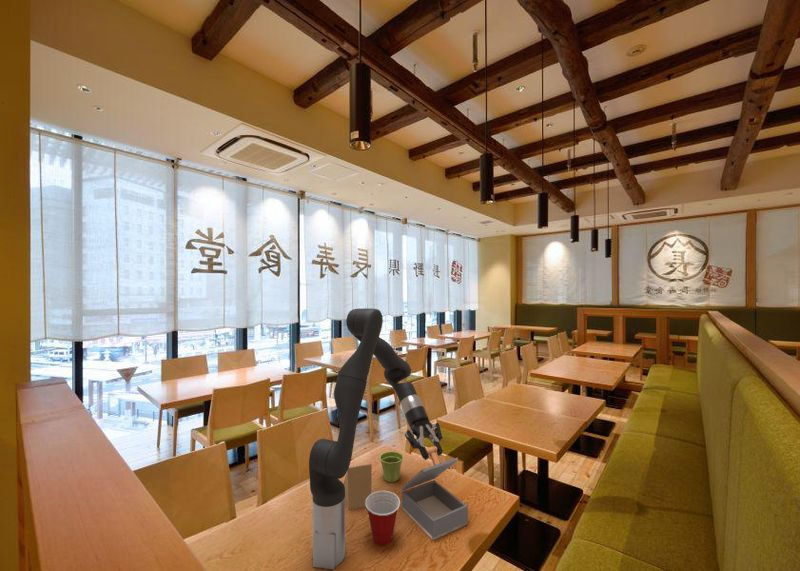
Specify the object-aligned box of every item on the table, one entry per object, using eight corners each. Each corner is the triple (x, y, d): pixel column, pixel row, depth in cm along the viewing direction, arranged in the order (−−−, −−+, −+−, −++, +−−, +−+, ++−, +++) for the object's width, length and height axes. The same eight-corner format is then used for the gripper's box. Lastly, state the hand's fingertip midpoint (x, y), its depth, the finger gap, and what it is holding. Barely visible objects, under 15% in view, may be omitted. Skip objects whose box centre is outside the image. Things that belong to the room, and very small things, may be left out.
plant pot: (402, 485, 140) (402, 463, 140) (378, 484, 141) (378, 462, 141) (403, 472, 150) (403, 451, 150) (380, 471, 150) (380, 451, 150)
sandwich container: (363, 482, 142) (363, 445, 142) (372, 506, 128) (372, 464, 127) (341, 486, 140) (341, 448, 140) (347, 510, 125) (347, 467, 125)
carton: (467, 524, 118) (467, 506, 118) (433, 540, 111) (433, 521, 110) (434, 496, 133) (434, 480, 133) (402, 508, 126) (402, 491, 126)
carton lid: (458, 459, 122) (449, 439, 126) (423, 471, 114) (415, 449, 118) (434, 478, 133) (427, 459, 137) (401, 490, 125) (394, 469, 130)
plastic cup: (368, 555, 105) (368, 514, 104) (362, 530, 115) (362, 493, 115) (404, 548, 107) (404, 508, 107) (395, 524, 118) (395, 488, 118)
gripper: (401, 408, 126) (420, 457, 116) (434, 401, 133) (455, 446, 123) (393, 419, 130) (411, 467, 120) (425, 411, 138) (445, 456, 128)
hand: (433, 456), depth 122 cm, fingers closed on carton lid, 5 cm apart
